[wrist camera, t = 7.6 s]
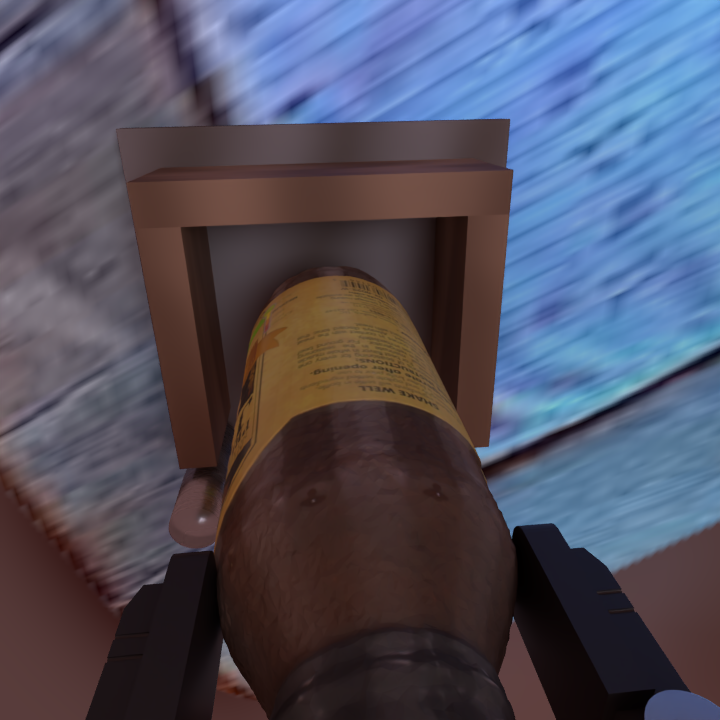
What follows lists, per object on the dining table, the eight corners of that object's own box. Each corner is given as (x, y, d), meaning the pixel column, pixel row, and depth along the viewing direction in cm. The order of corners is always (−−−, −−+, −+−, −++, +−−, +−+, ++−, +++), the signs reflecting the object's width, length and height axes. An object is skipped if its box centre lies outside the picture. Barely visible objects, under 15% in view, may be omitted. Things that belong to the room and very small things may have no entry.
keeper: (188, 438, 27) (157, 529, 22) (216, 414, 27) (193, 499, 21) (424, 624, 34) (449, 731, 29) (449, 607, 34) (480, 712, 28)
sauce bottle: (230, 286, 21) (-155, 1260, 3) (387, 240, 21) (882, 999, 3) (284, 423, 24) (233, 1371, 6) (423, 383, 24) (799, 1232, 6)
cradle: (502, 118, 24) (560, 121, 19) (480, 401, 30) (519, 467, 25) (123, 128, 23) (68, 134, 17) (176, 421, 29) (147, 495, 23)
